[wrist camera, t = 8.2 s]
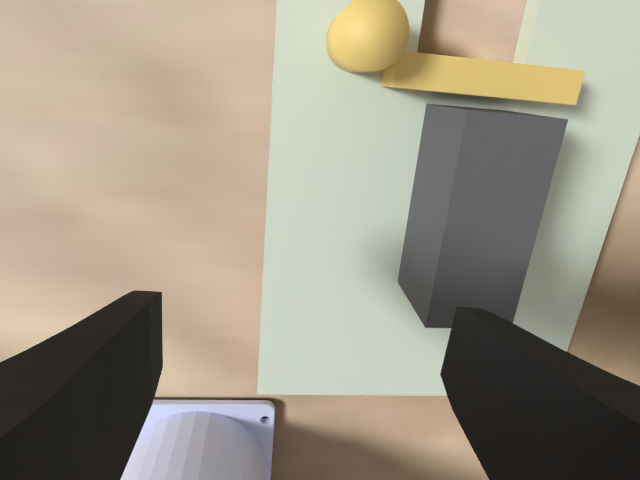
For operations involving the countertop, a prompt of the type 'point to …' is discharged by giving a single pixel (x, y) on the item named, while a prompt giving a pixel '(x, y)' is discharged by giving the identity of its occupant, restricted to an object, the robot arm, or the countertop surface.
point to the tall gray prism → (476, 209)
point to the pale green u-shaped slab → (399, 171)
